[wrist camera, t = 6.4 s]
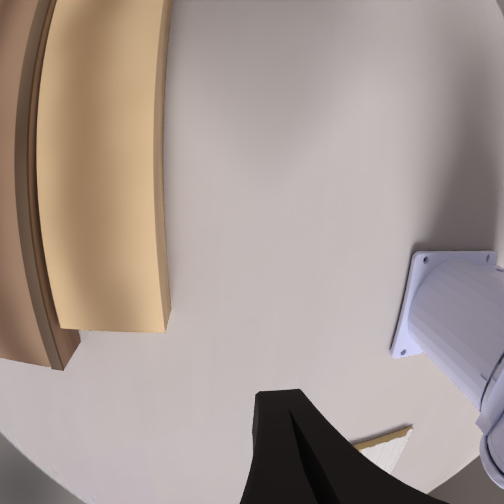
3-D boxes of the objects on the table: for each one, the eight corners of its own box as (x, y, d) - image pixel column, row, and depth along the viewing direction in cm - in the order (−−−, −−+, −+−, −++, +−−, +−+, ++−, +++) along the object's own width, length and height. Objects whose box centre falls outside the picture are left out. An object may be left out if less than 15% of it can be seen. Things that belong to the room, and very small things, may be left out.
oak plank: (177, -26, 11) (172, -53, 9) (172, 305, 17) (165, 332, 14) (84, -10, 11) (66, -31, 8) (79, 304, 16) (60, 328, 14)
